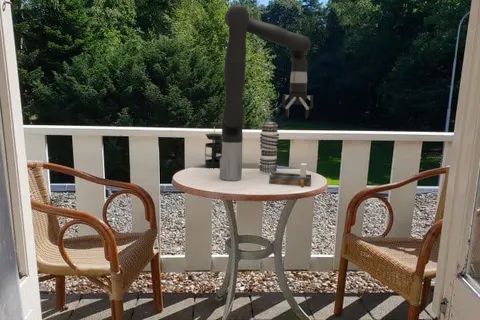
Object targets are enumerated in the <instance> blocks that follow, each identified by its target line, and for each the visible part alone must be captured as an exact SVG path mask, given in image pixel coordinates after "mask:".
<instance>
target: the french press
mask: <svg viewBox="0 0 480 320" xmlns="http://www.w3.org/2000/svg"><path fill="white" fill-rule="evenodd" d="M210 124H211V125H213V126H212V127H213V132H212V133H205V136H206V138H207V139H208V140H211V141H213V142H206V143H205V145H204V147H205V148H204V149H205V150H204V151H205V153H204V154H205V155H204V156H205V157H204V159H205V160H204V164H205V165H204V168H207V169H210V168H213V170H215V169H214V168H218V169H220V158H222V153H217V149H222V142H221V143H220V142H215V141H221V140H222V133H216V132H215V131H216V130H215V128H216V125H218V124H219V122H210ZM207 148H210V149H211V152H210V153H207ZM207 157H208V158H209V159H208V158H207Z"/></svg>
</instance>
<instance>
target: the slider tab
mask: <svg viewBox="0 0 480 320" xmlns="http://www.w3.org/2000/svg"><path fill="white" fill-rule="evenodd" d="M307 165H308V163H303V162H302V163H300V172H299V174H300V176H298V177H306V174H307V167H308V166H307ZM308 178H309V177H308Z"/></svg>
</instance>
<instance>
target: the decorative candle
mask: <svg viewBox="0 0 480 320" xmlns="http://www.w3.org/2000/svg"><path fill="white" fill-rule="evenodd" d="M278 126H279V125H278V124H277V122H275V121H264V122H263V123H262V124H261V132H260V134H259V135H260V136H259V139H260V140H259V142H260V144H259V145H260V147H259V148H260V158H259V160H260V161H259V174H262V175H269V176H270V175H271V172H278V170H277V168H278V166H277V164H278V162H277V161H278V156H277V151H278V148H277V147H278V146H279V145H278V144H279V141H278V139H280V137H279V136H280V134H279V133H278V129H279V128H278Z"/></svg>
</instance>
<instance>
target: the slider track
mask: <svg viewBox="0 0 480 320" xmlns="http://www.w3.org/2000/svg"><path fill="white" fill-rule="evenodd" d="M298 176H300V173H291V172H290V173H288V172H278V171H276V172H271V175H269V180H268V184H270V185H281V186H282V185H284V186H298V187H300V188H304V187H308V188H309V187H311V184H312V183H311V182H312V175H311V174H307V173H306V177H298ZM308 177H309V178H308Z"/></svg>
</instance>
